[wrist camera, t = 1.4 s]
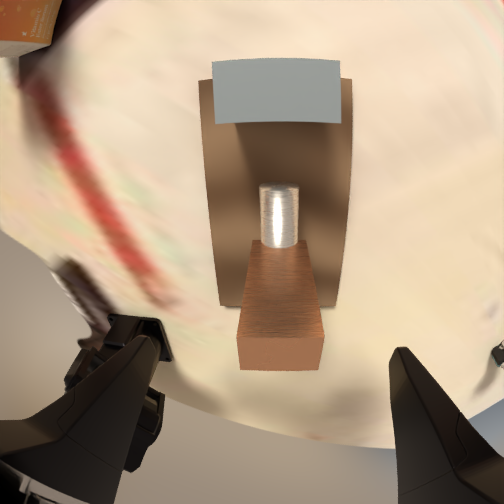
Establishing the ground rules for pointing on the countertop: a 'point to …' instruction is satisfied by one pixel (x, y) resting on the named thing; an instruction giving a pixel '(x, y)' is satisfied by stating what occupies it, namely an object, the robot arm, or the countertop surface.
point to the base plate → (271, 170)
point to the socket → (277, 90)
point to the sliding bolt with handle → (279, 291)
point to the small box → (26, 25)
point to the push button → (499, 355)
